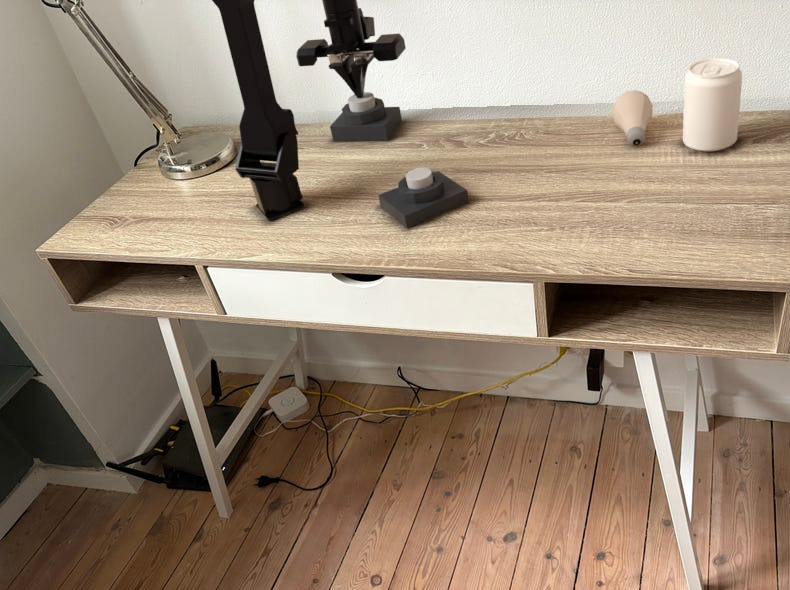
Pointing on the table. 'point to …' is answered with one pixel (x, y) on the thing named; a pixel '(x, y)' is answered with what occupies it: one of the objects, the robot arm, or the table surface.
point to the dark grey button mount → (366, 123)
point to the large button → (361, 102)
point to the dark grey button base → (423, 200)
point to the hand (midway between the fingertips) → (360, 97)
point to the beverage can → (712, 104)
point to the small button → (419, 178)
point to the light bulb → (633, 115)
